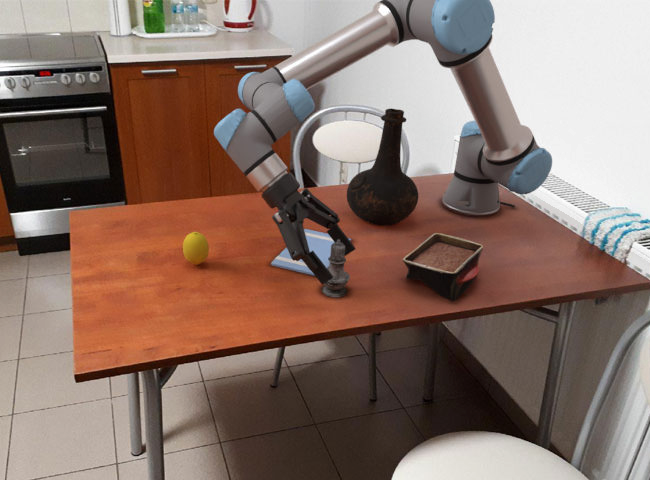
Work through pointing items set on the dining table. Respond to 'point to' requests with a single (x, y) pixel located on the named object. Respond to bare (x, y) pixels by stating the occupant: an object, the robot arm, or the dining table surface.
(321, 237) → the cloth
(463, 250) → the baking dish
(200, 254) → the lemon
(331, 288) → the salt shaker
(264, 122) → the robot arm
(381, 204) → the glass bottle
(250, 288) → the dining table surface
